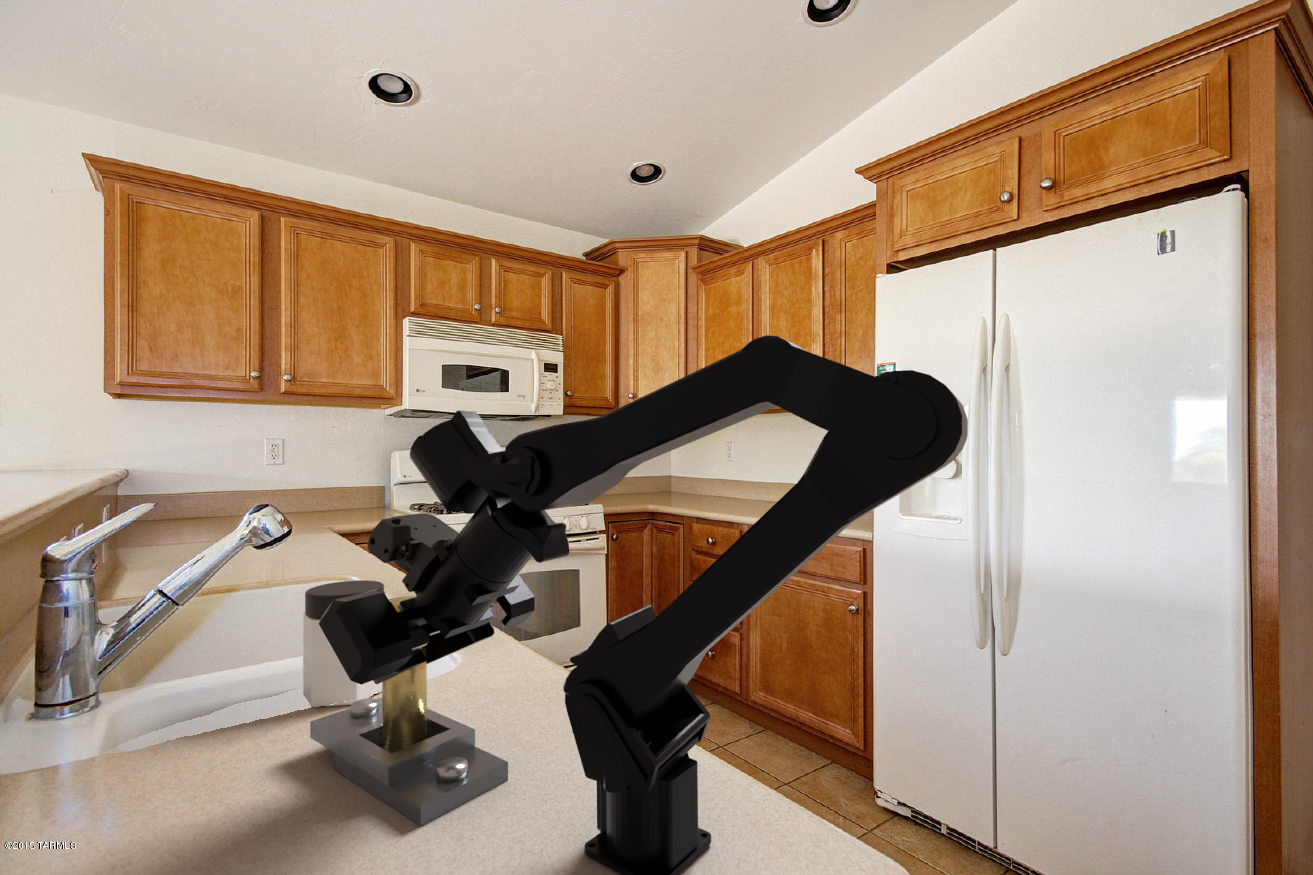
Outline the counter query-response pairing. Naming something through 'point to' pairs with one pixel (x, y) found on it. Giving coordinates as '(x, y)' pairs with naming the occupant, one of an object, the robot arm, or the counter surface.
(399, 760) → the grey clamp plate
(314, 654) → the jar
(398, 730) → the pin
